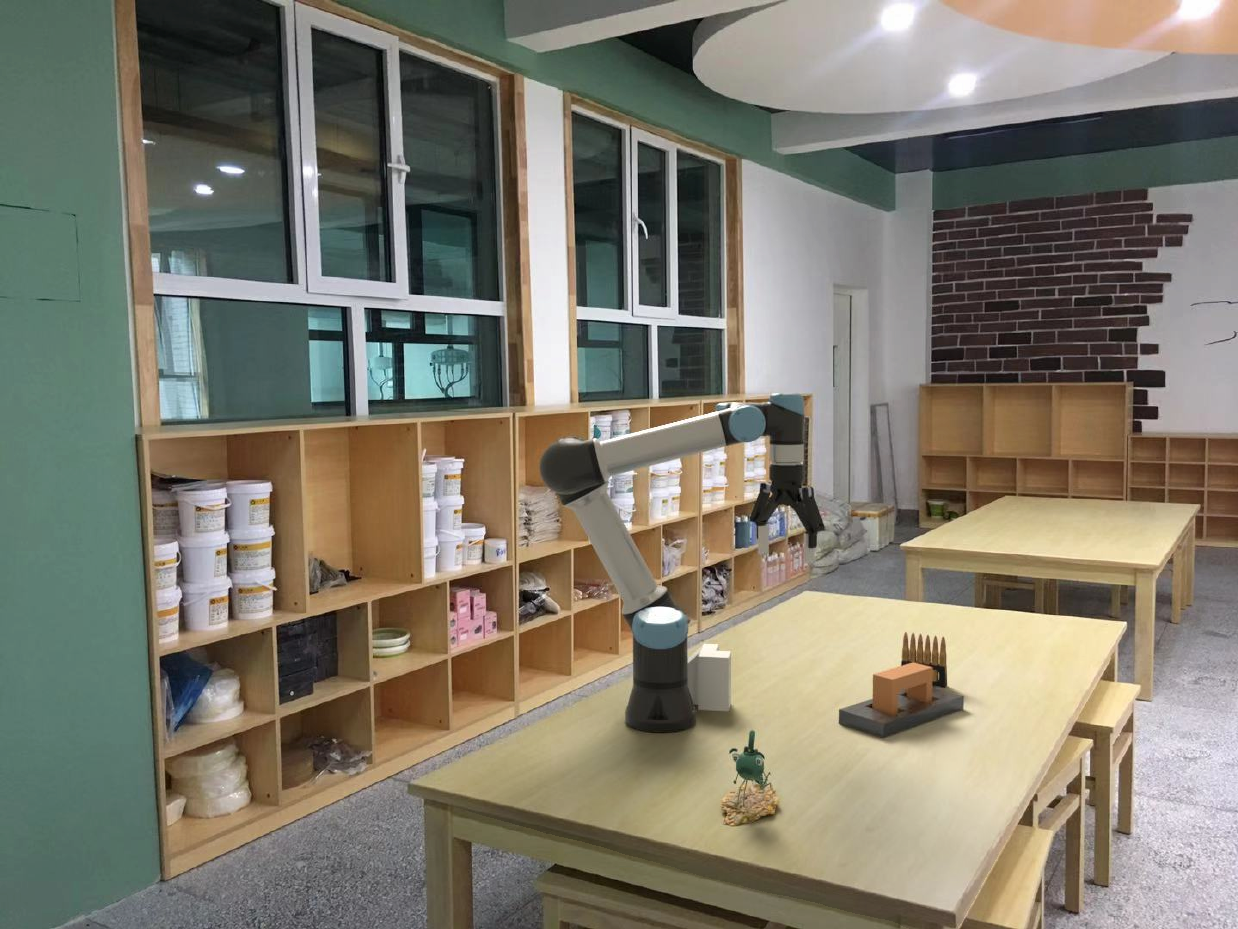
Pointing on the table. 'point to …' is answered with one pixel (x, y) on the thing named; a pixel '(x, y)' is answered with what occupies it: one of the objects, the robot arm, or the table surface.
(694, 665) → the corner bracket
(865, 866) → the table surface
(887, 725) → the gray slotted base board
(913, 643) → the ammunition clip
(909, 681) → the clip
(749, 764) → the green creature figurine
